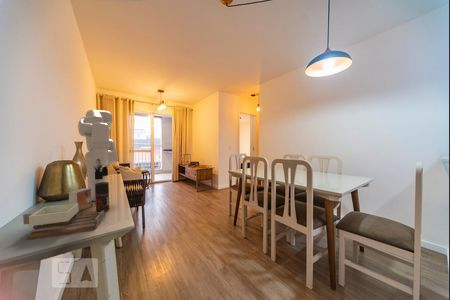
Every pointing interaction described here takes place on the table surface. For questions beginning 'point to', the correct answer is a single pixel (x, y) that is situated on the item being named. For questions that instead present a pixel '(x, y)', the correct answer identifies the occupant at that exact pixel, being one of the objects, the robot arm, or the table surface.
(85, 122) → the robot arm
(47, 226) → the rail board
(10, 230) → the table surface
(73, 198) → the small box
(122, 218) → the table surface
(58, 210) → the white open tray
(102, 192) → the deodorant
